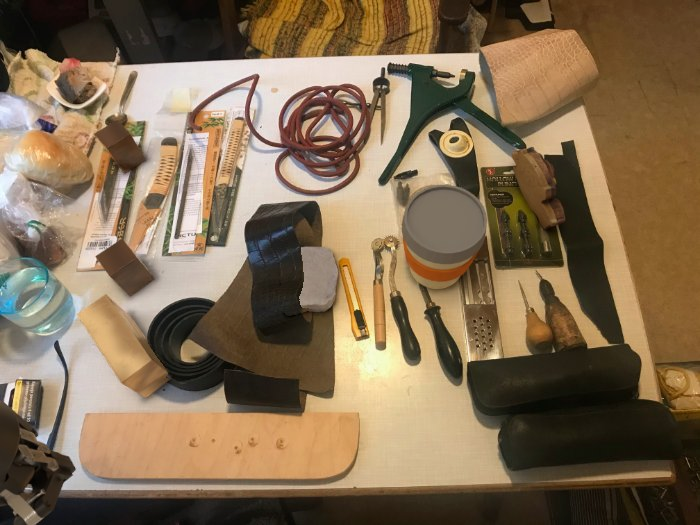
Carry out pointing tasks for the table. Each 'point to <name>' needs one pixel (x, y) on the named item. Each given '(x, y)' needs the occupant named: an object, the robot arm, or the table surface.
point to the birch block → (123, 346)
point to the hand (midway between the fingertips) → (64, 471)
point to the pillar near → (125, 267)
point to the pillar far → (120, 146)
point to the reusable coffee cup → (442, 234)
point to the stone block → (318, 279)
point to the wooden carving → (538, 186)
